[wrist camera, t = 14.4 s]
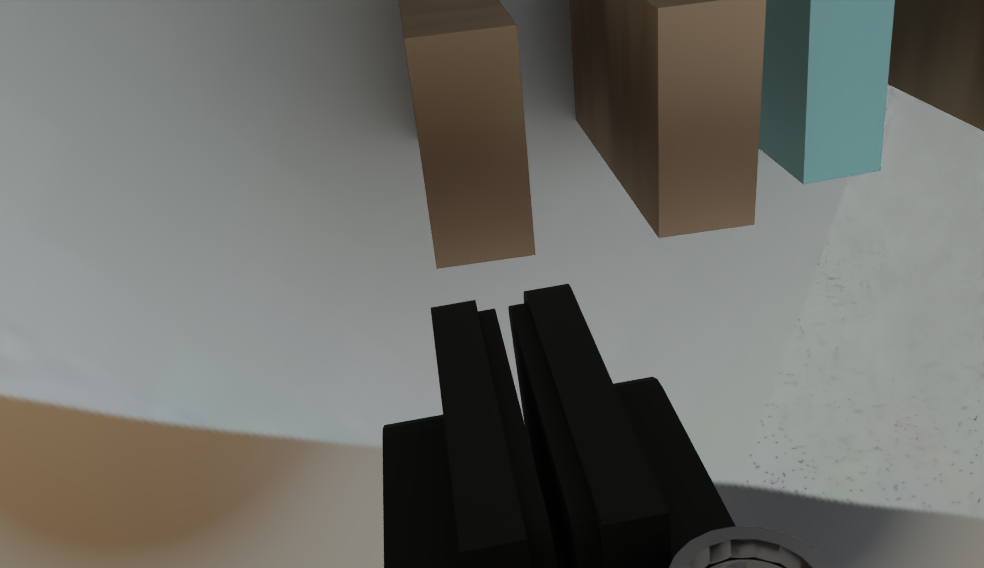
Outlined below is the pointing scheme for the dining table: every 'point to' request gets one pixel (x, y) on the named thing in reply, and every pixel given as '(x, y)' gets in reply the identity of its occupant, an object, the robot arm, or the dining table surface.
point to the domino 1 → (470, 128)
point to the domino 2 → (674, 104)
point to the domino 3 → (825, 86)
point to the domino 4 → (940, 55)
